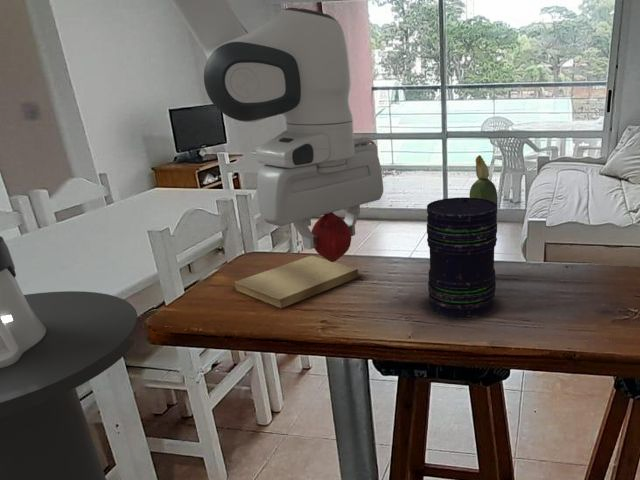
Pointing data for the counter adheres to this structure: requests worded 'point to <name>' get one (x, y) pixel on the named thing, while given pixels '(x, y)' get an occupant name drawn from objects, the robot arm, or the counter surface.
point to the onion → (332, 236)
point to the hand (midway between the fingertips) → (329, 241)
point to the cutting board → (296, 281)
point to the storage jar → (462, 257)
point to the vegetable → (483, 183)
